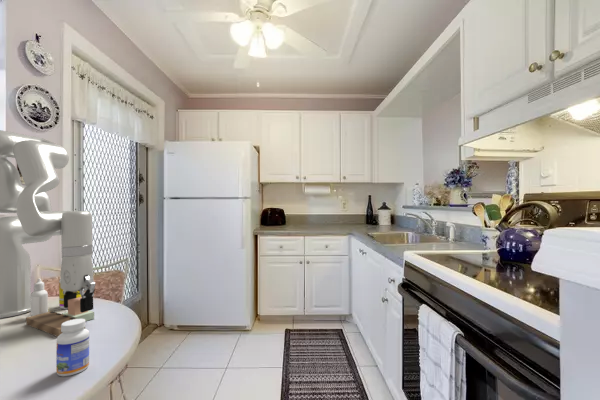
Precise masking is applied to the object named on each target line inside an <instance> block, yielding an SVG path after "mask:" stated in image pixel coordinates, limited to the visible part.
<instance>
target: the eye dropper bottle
mask: <svg viewBox="0 0 600 400" xmlns="http://www.w3.org/2000/svg"><path fill="white" fill-rule="evenodd" d="M46 312H49V294H48V291H47V290H46V289H45V281H44V282H43V281H42V279H41V278H40V277H39V278H37V281H36V282H35V283H34V284H33V291H32V292H31V311H30V317H31V316H35V315H39V314H42V313H46Z"/></svg>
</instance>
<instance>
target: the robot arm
mask: <svg viewBox="0 0 600 400" xmlns="http://www.w3.org/2000/svg"><path fill="white" fill-rule="evenodd" d="M8 158H11V159H12V158H13V159H15V161H16V164H17V167H18V168H17V167H16V166H15V165H14V164H13V163H12V162H11V161H10V160H9V159H8ZM69 160H70V155H69V153H68V151H67V150H66V148H65V147H63V145H60V144H58V143H55V142H53V141H50V140H47V139H44V138H42V137H39V136H33V135H28V134H23V133H18V132H14V131H13V132H12V131H8V130H0V214H16V215H15V216H14V215H11V216H0V319H3V318H9V317H15V316H20V315H23V314H26V313H29V312H30V313H31V293H32V292H31V291H32V290H31V289H32V285H31V283H32V282H31V278H32V277H31V255H30V253H29V251H28V250H27V249H26V248H25V247H24V246H23V245H25V244H26V245H27V244H37V243H42V242H47V241H49V240H50V239H52V237H55V236H61V238H60V239H61V266H60V278H59V280H60V288H61V289H63V294H65V295H64V308H68V300H70V299H74V298H76V292H77V291H78V290H79V292H80V295H81V297H82V298H81V299H80V312H86V311H93V309H94V296H95V288H96V282H95V281H94V269H93V267H94V265H93V261H92V260H93V259H92V258H93V257H92V256H93V252H94V251H93V216H92V215H93V214H92V213H91V212H90V211H88V210H87V211H86V210H62V211H61V210H60V211H59V210H53V209H52V202H51V199H50V198H51V197H50V196H49V194H48V192H49V191H51V190H54V189H55V188H56V187H58V186H59V185H60V181H61V180H60V178H59V175H58V173H57V171H56V169H58V170H59V169H64V168H65V167H67V165H68V164H69ZM18 169H19V170H18ZM21 177H22V179H23V182H24V184H22V181H21ZM73 292H74V293H73Z"/></svg>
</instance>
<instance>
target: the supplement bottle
mask: <svg viewBox="0 0 600 400" xmlns="http://www.w3.org/2000/svg"><path fill="white" fill-rule="evenodd" d="M58 287H59V288H58V293H59V294H58V296H59V297H58V305H59V309H61V310H68V308H64V295H65V294H63V289H61V288H60V279H59V280H58ZM73 293H74V292H73ZM78 297H81V295H80V292H79V290H78V291H77V292H76V298H78Z"/></svg>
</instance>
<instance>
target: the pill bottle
mask: <svg viewBox="0 0 600 400" xmlns="http://www.w3.org/2000/svg"><path fill="white" fill-rule="evenodd" d="M86 324H87V323H86V321H85V319H73V320H69V321H66V322H64V323H62V324H61V332H63V333H62V334H60V335H59V336H56V359H55V360H56V364H55V366H56V369H55V370H56V375H57V376H59V377H70V376H73V375H76V374H78V373H81V372H84V371H85V370H86V369H87V368H88V367H90V330H88V329H87V328H86ZM84 327H85V329H84Z"/></svg>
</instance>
